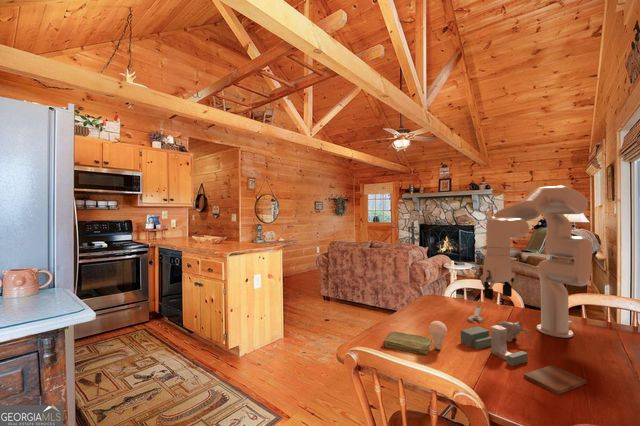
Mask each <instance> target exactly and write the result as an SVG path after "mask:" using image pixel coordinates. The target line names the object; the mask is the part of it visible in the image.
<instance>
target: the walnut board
mask: <svg viewBox="0 0 640 426" xmlns="http://www.w3.org/2000/svg"><path fill="white" fill-rule="evenodd" d="M523 377H524V378H525V379H527V380H528V381H531V382H533V383H534V384H537V385H538V386H541V387H542V388H545V389H546V390H549V391H550V392H552V393H554V394H556V395H561V394H564V393H566V392H568V391H571V390H574V389H576V388H579V387H582V386H584V385H586V383H587V382H588V381H587V380H586V379H584V378H582V377H580V376H578V375H575V374H574V373H571V372H569V371H566V370H564V369H562V368H559V367H557V366H555V365H553V364H550V365H548V366H545V367H541V368H538V369H535V370H532V371H529V372H525V373H524V374H523Z"/></svg>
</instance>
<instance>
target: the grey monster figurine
mask: <svg viewBox="0 0 640 426" xmlns="http://www.w3.org/2000/svg"><path fill="white" fill-rule="evenodd" d="M496 324H497V325H499V326H501V327H504V328H507V343H512V342H513V339H514V340H517V339H518V336H519V335H520V334H521V332H524V333H525V334H526V337H527V338H528V339H530V337H531V336H530V334H529V332H528V330H527V329H525V328H523V324H522V322H520V321H517V322H511V321H499V322H496Z"/></svg>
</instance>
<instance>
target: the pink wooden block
mask: <svg viewBox="0 0 640 426" xmlns="http://www.w3.org/2000/svg"><path fill="white" fill-rule="evenodd" d="M490 337H491V346H490V352H491V354H493V355H495V356H497V357H498V358H501V359H502V360H505V361H507V355H509V354H513V352H509V351H508V350H507V349H508V348H507V347H508V346H507V345H508V342H507V328H504V327H501V326H499V325H492V326H490Z"/></svg>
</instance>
